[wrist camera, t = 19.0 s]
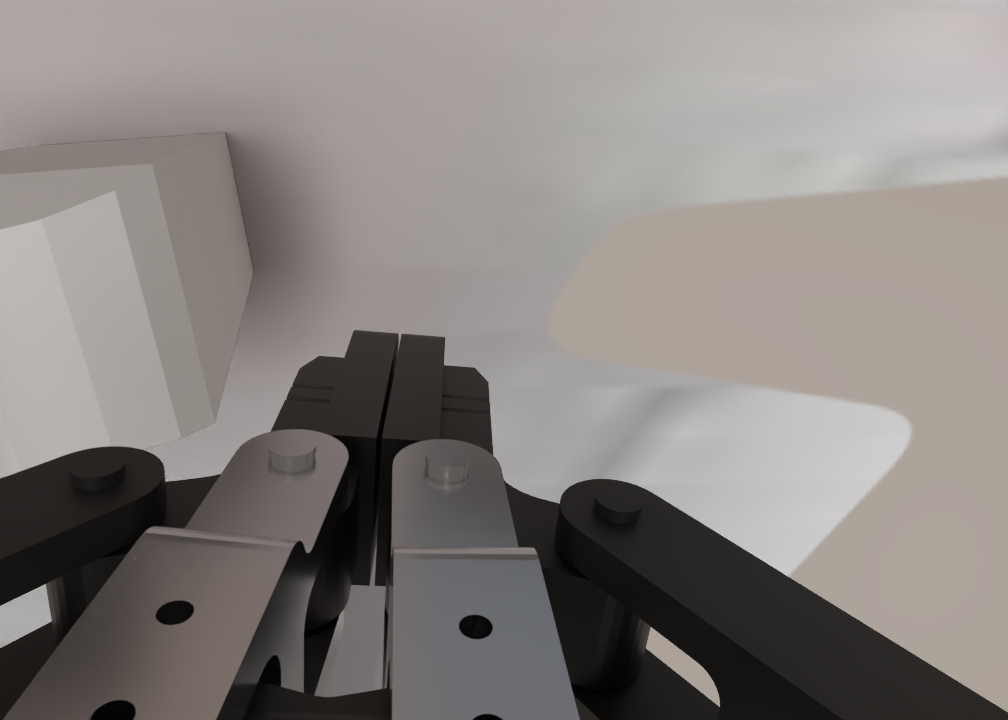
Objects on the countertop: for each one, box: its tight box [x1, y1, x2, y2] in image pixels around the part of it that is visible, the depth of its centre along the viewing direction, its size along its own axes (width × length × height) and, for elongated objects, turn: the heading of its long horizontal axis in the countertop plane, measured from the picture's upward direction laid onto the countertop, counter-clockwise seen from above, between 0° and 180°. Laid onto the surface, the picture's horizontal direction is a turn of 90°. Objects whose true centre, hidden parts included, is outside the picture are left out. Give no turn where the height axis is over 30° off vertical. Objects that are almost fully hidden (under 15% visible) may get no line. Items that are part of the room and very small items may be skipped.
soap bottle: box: [0, 132, 254, 477], centre depth 25 cm, size 12×10×26 cm
